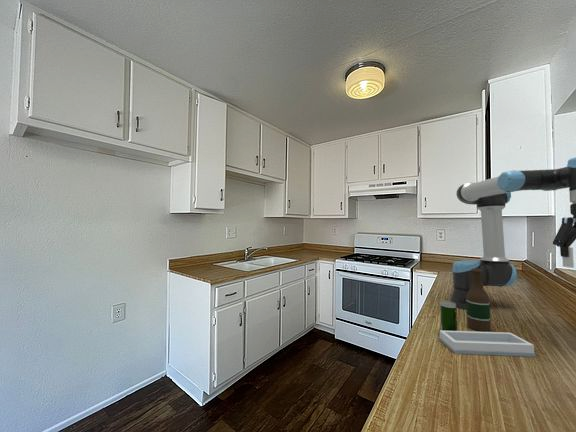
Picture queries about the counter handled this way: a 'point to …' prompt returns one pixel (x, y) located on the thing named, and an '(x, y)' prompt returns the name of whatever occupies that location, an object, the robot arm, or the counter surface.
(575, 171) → the robot arm
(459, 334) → the tray
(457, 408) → the counter surface
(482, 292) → the beer bottle
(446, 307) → the beer can
